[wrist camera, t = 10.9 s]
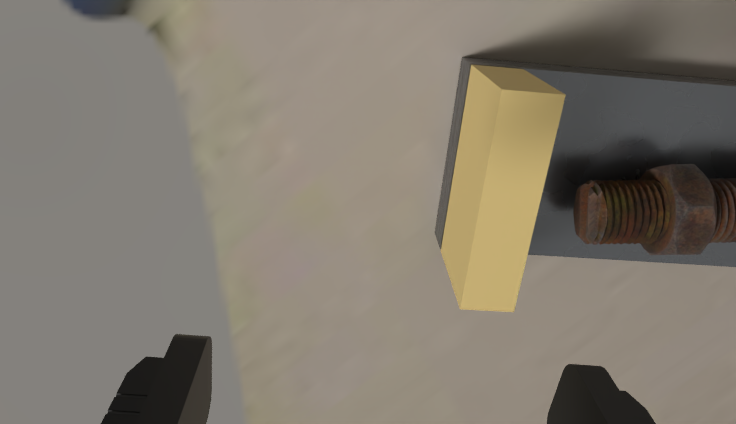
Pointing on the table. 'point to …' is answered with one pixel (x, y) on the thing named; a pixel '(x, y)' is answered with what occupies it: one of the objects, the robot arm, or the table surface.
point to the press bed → (617, 147)
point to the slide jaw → (498, 183)
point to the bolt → (658, 211)
